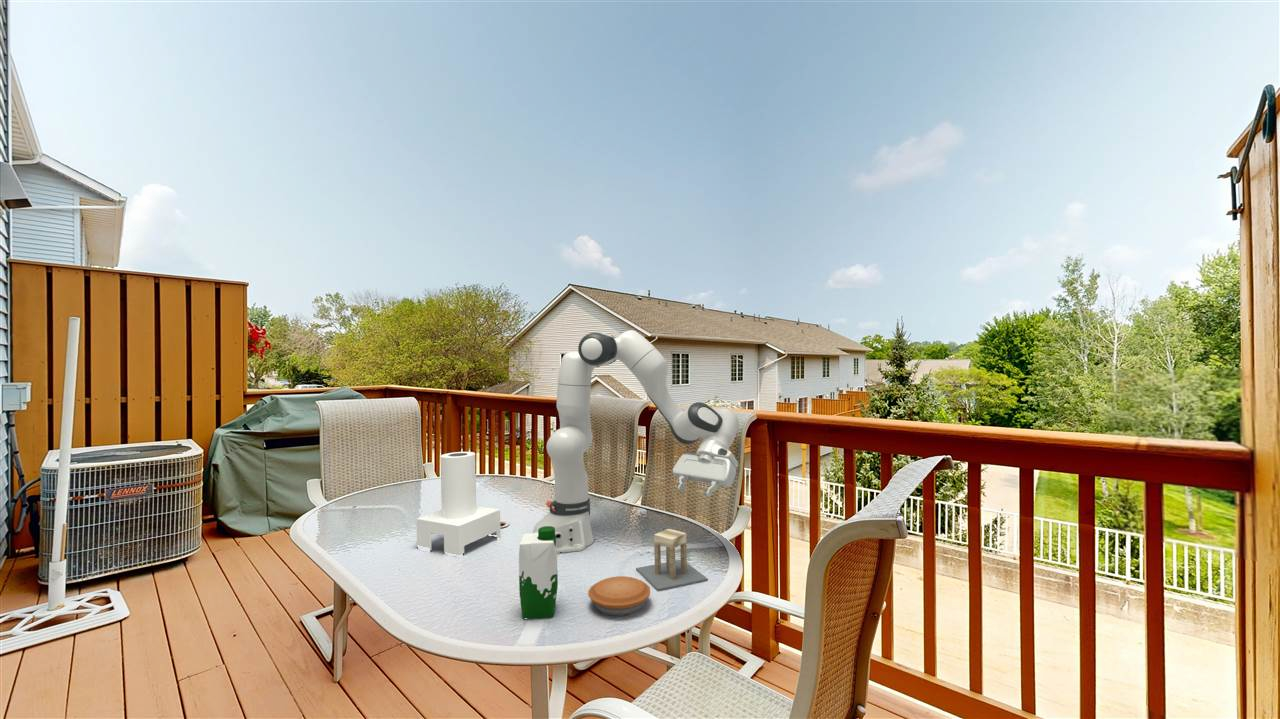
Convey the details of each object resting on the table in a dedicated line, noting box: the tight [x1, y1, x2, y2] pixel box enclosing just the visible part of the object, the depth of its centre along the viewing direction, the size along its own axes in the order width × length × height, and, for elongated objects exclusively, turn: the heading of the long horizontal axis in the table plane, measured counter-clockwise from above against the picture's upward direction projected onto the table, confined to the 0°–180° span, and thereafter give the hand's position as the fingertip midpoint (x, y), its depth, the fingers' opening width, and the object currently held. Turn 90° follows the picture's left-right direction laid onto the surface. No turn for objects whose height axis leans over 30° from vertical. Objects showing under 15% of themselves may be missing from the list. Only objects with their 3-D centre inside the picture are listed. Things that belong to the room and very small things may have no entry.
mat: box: [635, 559, 709, 592], centre depth 144 cm, size 15×15×1 cm
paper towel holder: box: [416, 451, 502, 555], centre depth 172 cm, size 19×19×30 cm
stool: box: [653, 528, 688, 580], centre depth 144 cm, size 6×6×11 cm
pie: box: [587, 575, 651, 617], centre depth 127 cm, size 16×16×5 cm
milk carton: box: [518, 526, 559, 619], centre depth 125 cm, size 9×9×20 cm
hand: (693, 493), depth 152 cm, fingers open, 8 cm apart
